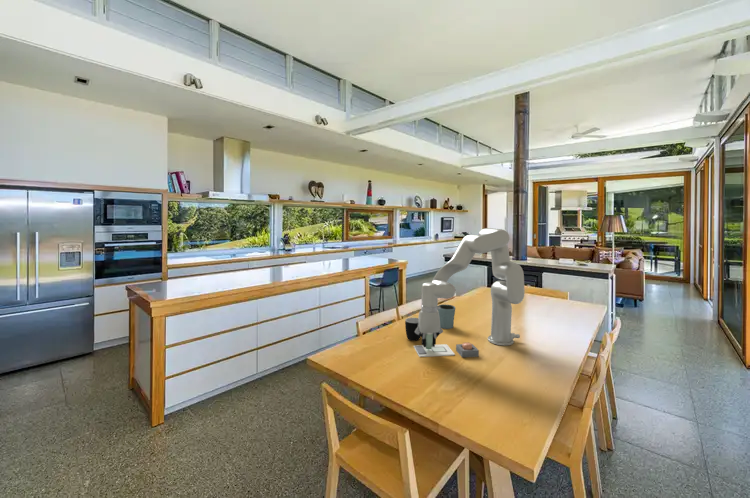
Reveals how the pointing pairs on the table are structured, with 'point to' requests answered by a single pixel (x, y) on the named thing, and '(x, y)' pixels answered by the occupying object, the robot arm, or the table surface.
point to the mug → (411, 329)
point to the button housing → (467, 351)
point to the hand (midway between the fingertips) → (428, 345)
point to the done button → (467, 346)
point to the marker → (429, 340)
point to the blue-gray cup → (446, 316)
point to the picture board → (434, 350)
